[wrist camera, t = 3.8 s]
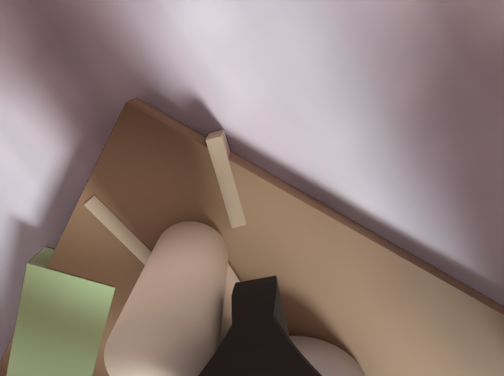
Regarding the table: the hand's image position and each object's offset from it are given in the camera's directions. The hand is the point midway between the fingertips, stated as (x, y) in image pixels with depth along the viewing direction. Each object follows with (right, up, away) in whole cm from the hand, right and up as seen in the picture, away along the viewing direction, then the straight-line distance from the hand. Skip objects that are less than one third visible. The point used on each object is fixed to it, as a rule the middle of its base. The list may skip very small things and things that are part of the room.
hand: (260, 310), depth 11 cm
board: (0, -3, +5) cm, 6 cm away
